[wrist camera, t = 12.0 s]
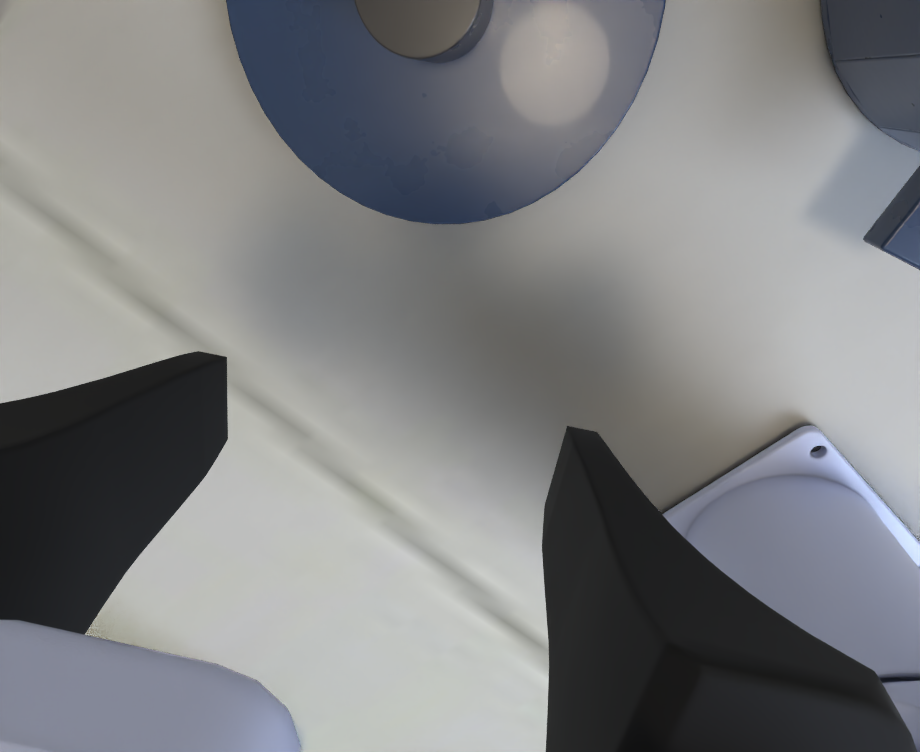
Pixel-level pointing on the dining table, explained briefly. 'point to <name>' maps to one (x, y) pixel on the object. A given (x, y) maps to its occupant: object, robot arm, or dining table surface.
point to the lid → (445, 94)
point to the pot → (883, 96)
